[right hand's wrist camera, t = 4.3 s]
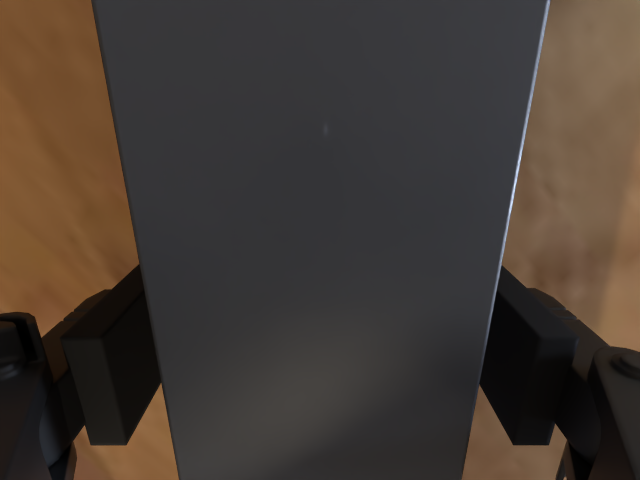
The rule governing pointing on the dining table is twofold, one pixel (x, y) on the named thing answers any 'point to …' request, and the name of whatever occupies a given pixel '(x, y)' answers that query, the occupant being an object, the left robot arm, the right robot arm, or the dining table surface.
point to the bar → (320, 220)
